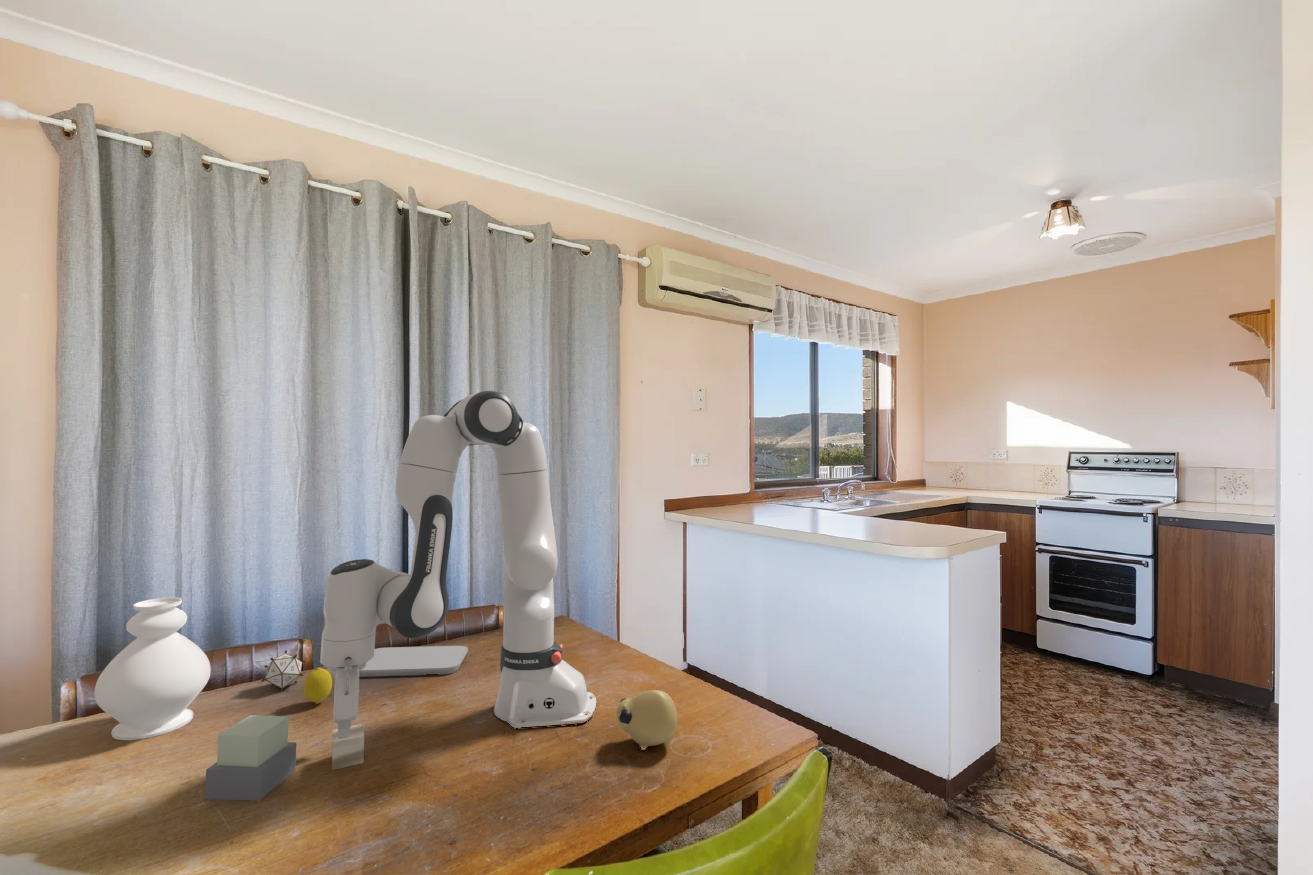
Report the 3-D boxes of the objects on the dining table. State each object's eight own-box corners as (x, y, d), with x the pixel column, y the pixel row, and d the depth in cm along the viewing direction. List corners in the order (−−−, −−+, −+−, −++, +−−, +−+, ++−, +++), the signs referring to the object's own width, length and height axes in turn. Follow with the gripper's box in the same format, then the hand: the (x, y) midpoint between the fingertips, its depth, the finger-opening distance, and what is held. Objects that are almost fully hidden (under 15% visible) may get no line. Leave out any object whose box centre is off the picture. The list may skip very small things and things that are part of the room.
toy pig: (618, 731, 118) (619, 679, 118) (676, 732, 117) (677, 680, 118) (613, 756, 108) (614, 700, 108) (677, 758, 107) (678, 701, 108)
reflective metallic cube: (363, 763, 104) (364, 735, 104) (331, 770, 102) (332, 742, 102) (362, 750, 108) (362, 724, 108) (332, 757, 106) (332, 730, 106)
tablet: (457, 676, 145) (457, 667, 145) (348, 679, 141) (348, 670, 141) (469, 653, 161) (470, 645, 161) (372, 656, 157) (373, 647, 158)
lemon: (337, 699, 130) (338, 663, 130) (320, 710, 124) (321, 673, 124) (314, 697, 130) (315, 662, 130) (296, 708, 125) (298, 671, 125)
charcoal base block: (295, 770, 102) (296, 742, 102) (259, 802, 93) (260, 771, 93) (245, 769, 102) (246, 741, 102) (205, 800, 93) (206, 769, 93)
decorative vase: (164, 701, 127) (168, 588, 127) (230, 710, 123) (234, 594, 124) (67, 741, 110) (72, 610, 110) (140, 753, 106) (145, 618, 106)
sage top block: (287, 745, 101) (288, 716, 101) (257, 767, 94) (258, 736, 94) (249, 743, 101) (250, 715, 101) (217, 765, 94) (218, 734, 94)
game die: (276, 707, 133) (247, 681, 128) (280, 681, 140) (253, 656, 135) (314, 685, 135) (287, 659, 130) (316, 660, 142) (291, 635, 138)
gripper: (369, 666, 98) (364, 748, 97) (365, 631, 116) (361, 700, 115) (326, 672, 95) (321, 756, 94) (329, 635, 113) (325, 705, 112)
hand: (343, 725), depth 105 cm, fingers open, 8 cm apart
